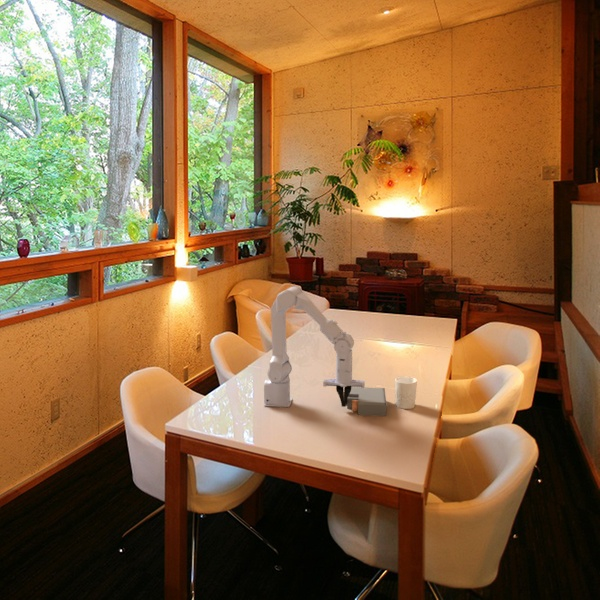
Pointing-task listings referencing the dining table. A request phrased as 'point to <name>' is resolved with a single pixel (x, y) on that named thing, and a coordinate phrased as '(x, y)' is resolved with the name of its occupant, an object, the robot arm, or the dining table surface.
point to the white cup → (405, 392)
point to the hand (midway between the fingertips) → (343, 405)
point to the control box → (368, 401)
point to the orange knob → (354, 405)
